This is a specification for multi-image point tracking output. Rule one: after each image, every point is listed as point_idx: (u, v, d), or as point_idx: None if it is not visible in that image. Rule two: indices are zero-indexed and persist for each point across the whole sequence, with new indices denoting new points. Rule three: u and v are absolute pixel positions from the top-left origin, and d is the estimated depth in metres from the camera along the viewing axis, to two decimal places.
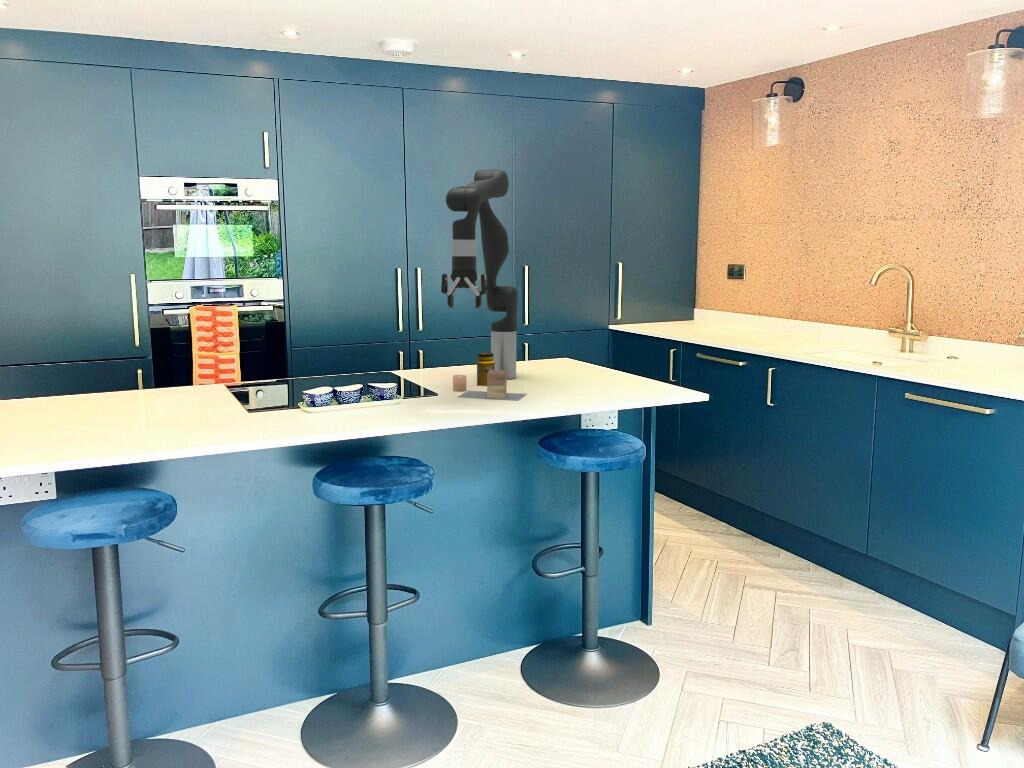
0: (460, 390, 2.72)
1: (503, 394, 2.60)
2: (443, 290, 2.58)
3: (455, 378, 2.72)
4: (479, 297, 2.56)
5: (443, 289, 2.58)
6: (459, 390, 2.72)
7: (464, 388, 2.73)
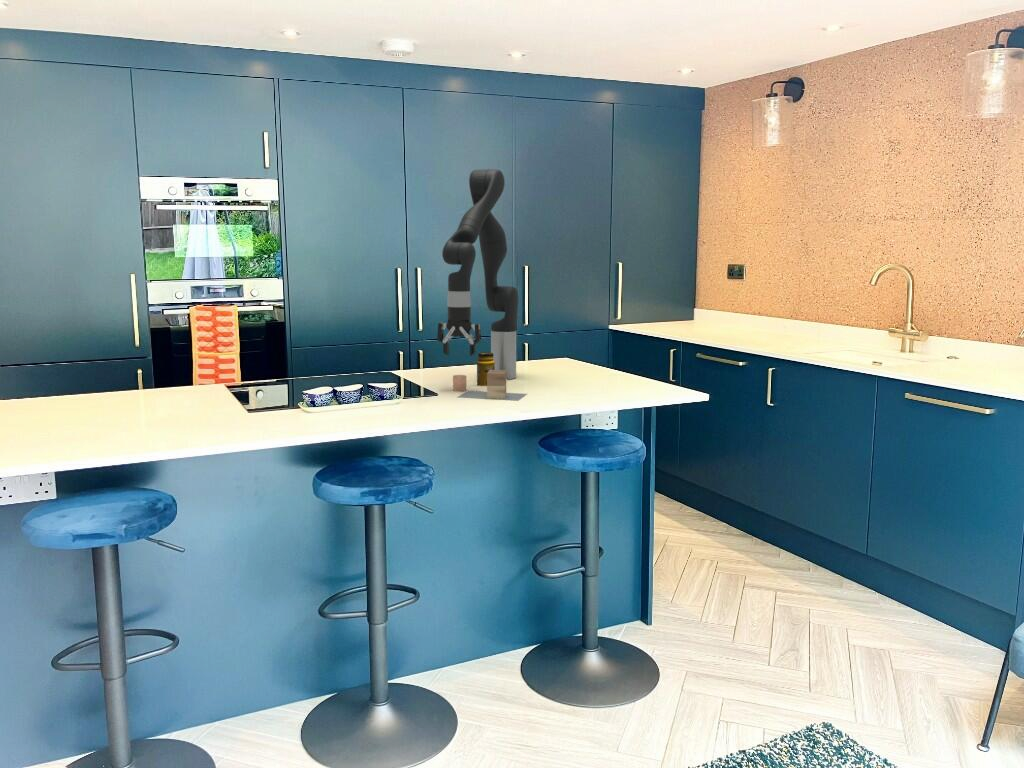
0: (460, 390, 2.72)
1: (503, 394, 2.60)
2: (439, 338, 2.72)
3: (455, 378, 2.72)
4: (473, 345, 2.70)
5: (439, 337, 2.72)
6: (459, 390, 2.72)
7: (464, 388, 2.73)
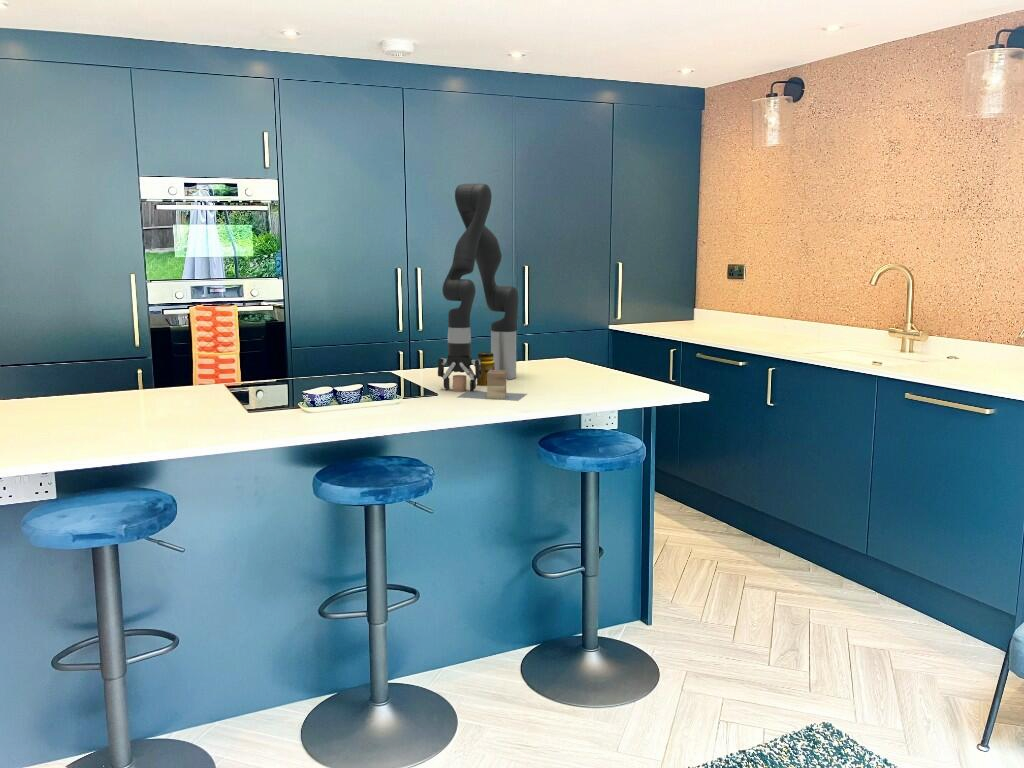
0: (460, 390, 2.72)
1: (503, 394, 2.60)
2: (439, 373, 2.74)
3: (455, 378, 2.72)
4: (473, 381, 2.72)
5: (439, 373, 2.74)
6: (459, 390, 2.72)
7: (464, 388, 2.73)
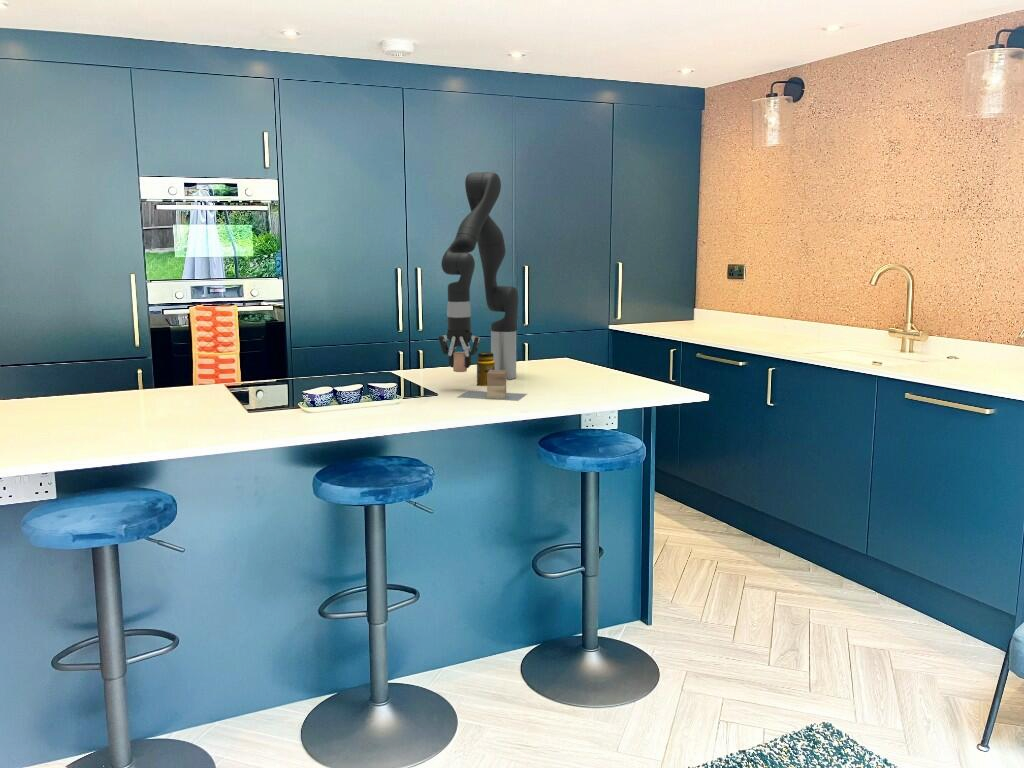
0: (460, 367, 2.71)
1: (503, 394, 2.60)
2: (445, 351, 2.72)
3: (456, 355, 2.71)
4: (469, 357, 2.71)
5: (445, 350, 2.72)
6: (459, 367, 2.71)
7: (464, 365, 2.72)
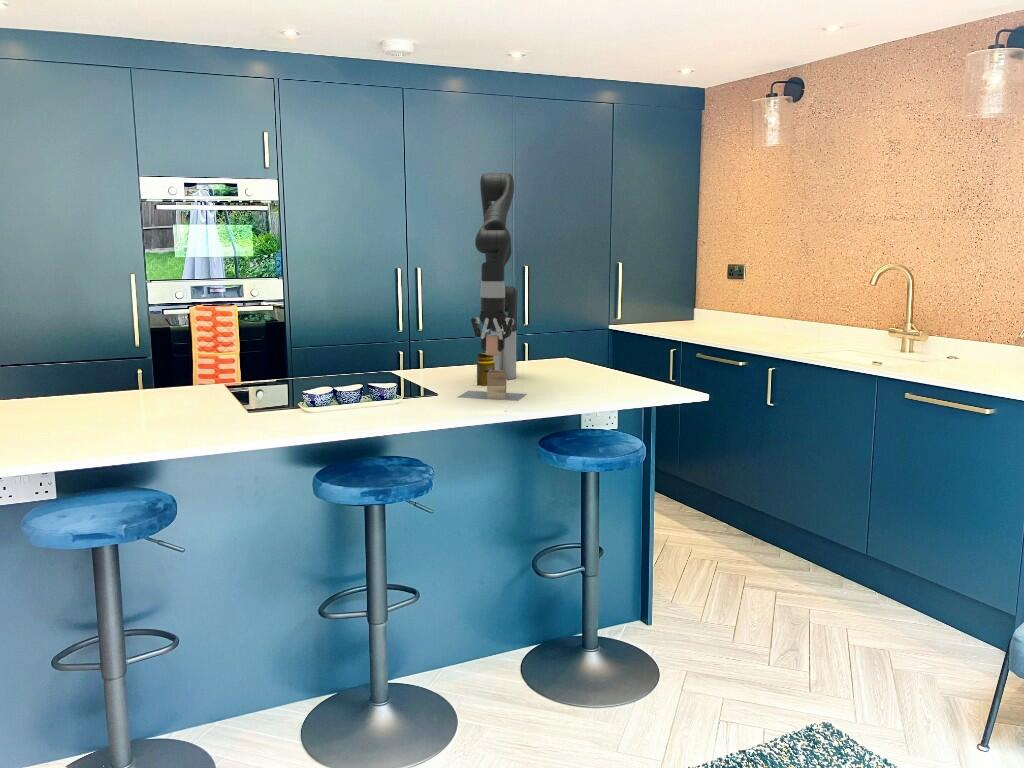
0: (493, 350, 2.59)
1: (503, 394, 2.60)
2: (477, 334, 2.60)
3: (489, 337, 2.58)
4: (502, 341, 2.59)
5: (477, 333, 2.60)
6: (492, 350, 2.59)
7: (498, 348, 2.59)
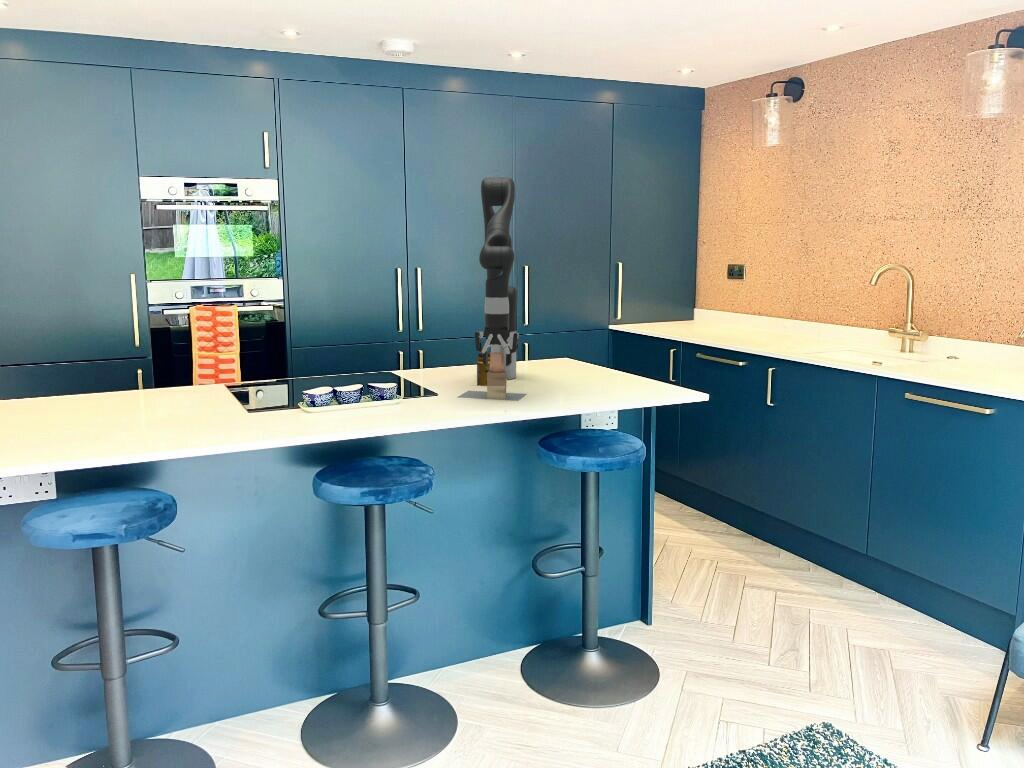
0: (498, 367, 2.59)
1: (503, 394, 2.60)
2: (478, 348, 2.60)
3: (492, 355, 2.59)
4: (509, 355, 2.59)
5: (478, 347, 2.60)
6: (497, 367, 2.59)
7: (502, 365, 2.60)
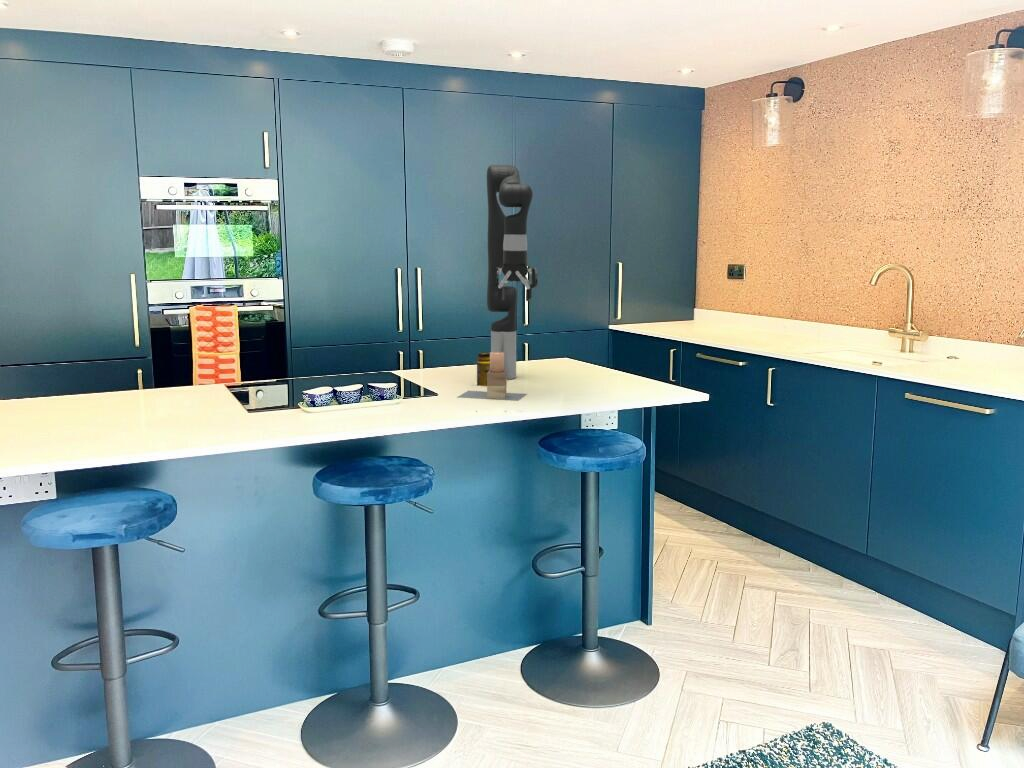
0: (498, 367, 2.59)
1: (503, 394, 2.60)
2: (494, 283, 2.67)
3: (492, 355, 2.59)
4: (529, 290, 2.65)
5: (494, 282, 2.67)
6: (497, 367, 2.59)
7: (502, 365, 2.60)
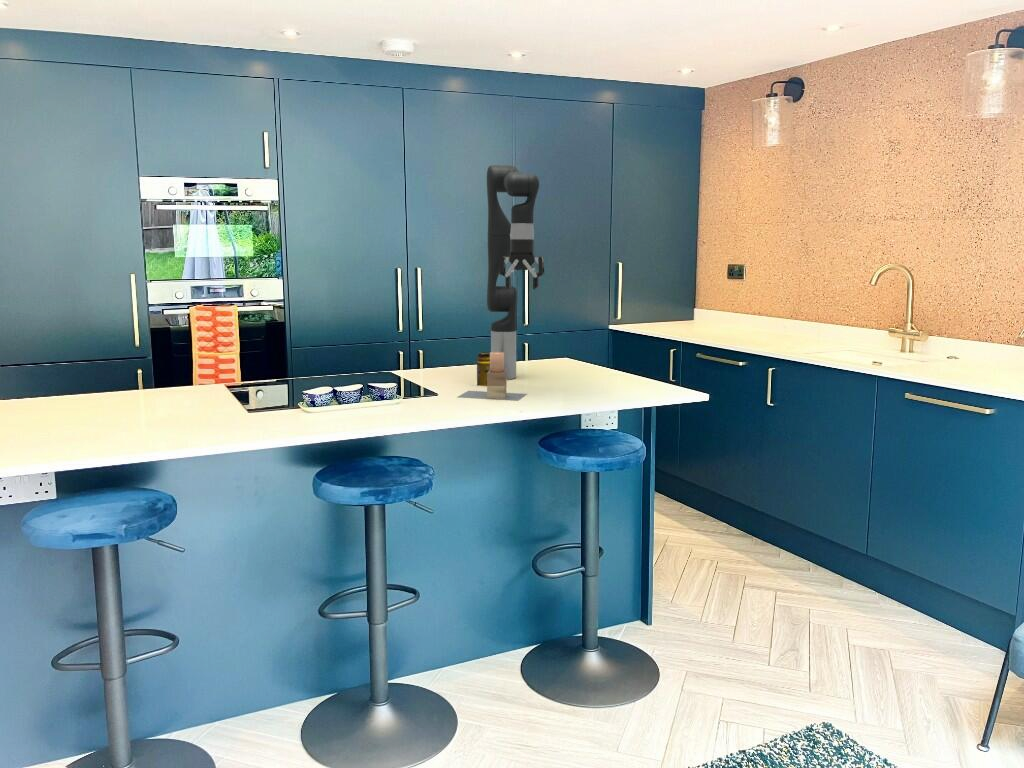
0: (498, 367, 2.59)
1: (503, 394, 2.60)
2: (501, 272, 2.70)
3: (492, 355, 2.59)
4: (536, 279, 2.68)
5: (501, 271, 2.70)
6: (497, 367, 2.59)
7: (502, 365, 2.60)
